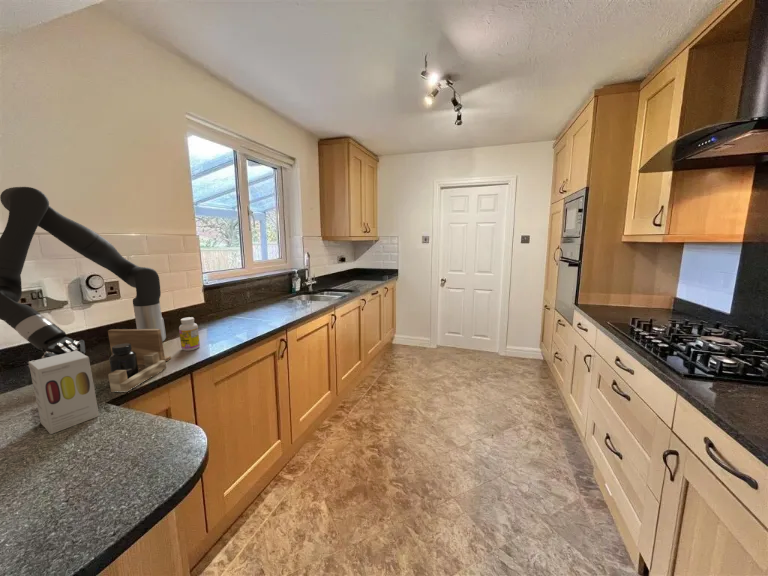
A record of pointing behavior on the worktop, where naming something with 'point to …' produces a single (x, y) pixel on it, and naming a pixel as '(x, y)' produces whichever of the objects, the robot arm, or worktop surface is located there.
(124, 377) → the stop bay
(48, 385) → the supplement box
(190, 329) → the supplement bottle
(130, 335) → the oak screen
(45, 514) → the worktop surface
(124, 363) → the supplement bottle
